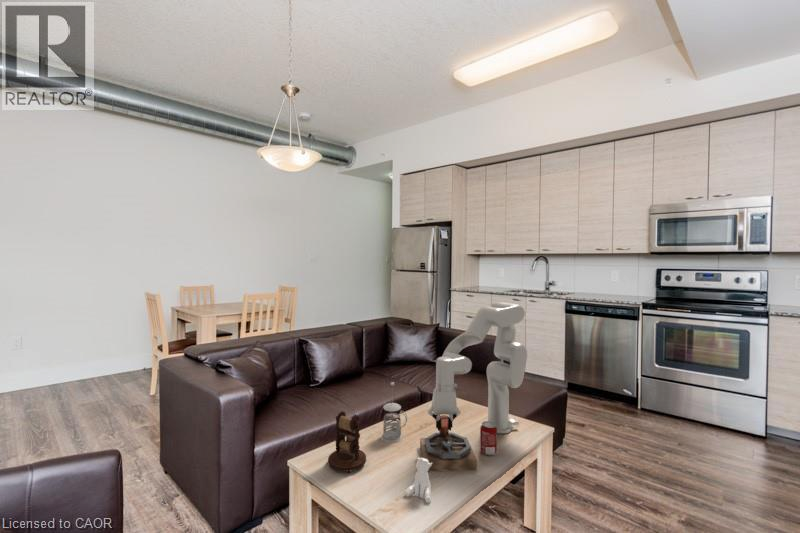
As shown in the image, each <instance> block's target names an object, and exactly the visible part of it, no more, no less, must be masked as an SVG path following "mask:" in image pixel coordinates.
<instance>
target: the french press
mask: <svg viewBox="0 0 800 533" xmlns="http://www.w3.org/2000/svg"><path fill="white" fill-rule="evenodd" d="M390 386H391V387H392V388H391V397H392V398H391V402H388V403H386V404H384V405H383V410H384V411H386V412H387V413H385V414H384V416H383V424H382V425H383V428H382V430H383V434H382V435H381V436H380V438H382V439H383V440H384V441H383V440H382V439H381V440H382V441H383V442H385V441H386V443H391V442H394V443H398V442H400V440H401V439H402V436H403V435H402V428H403V429H404V427H405V426H406V425H407V422H408V416H407V413H406V412H405V411H404V410H401V409H402V406H401V404H398V403H397V402H393V396H394V393H393V392H394V391H393V390H394V389H393V388H394V387H393V386H395V382H393V381H391V382H390ZM398 411H399V413H396V412H398ZM401 413H402V415H404V417H405V423H404V424H402V425H401ZM402 440H403V439H402ZM402 440H401V441H402Z"/></svg>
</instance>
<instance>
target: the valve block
mask: <svg viewBox="0 0 800 533" xmlns="http://www.w3.org/2000/svg"><path fill="white" fill-rule="evenodd" d="M464 437H465V438H467V440H468V437H466V436H464ZM425 438H426V437H420V439H419V440H420V441H419V442H420V443H419V447H420V452H421V458H424V459H427V460H428V461H429V463H432V465H431V467H429V470H428V471H427V472H455V471H457V472H459V471H461V472H462V471H478V458H477V456H476V455H475V454H476V453H475V452H474V450H473V448H472V447H471V451H470V452H469V453H467V454H466V455H465V456H463V457H462V458H445V459H442V458H440V457H437V456H435V455H433V454H431V453H428V452H427V451H426V446H425ZM447 439H448V440H451V441H452V443H463V442H460V441H458V440H455V439H453V438H447ZM443 440H444V439H443V438H437V439H435V440H433V441H432V442H430V443H442V441H443ZM468 442H469V440H468ZM469 444H470V442H469ZM470 445H471V444H470ZM432 448H434V449H437V450H439V451H441V452H448V451H447V450H444V449H443V448H442V447H432ZM463 448H465V446H463V447H452V449H451V451H452V452H459V451H460V450H462V449H463Z"/></svg>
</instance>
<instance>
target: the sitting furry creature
mask: <svg viewBox="0 0 800 533" xmlns="http://www.w3.org/2000/svg"><path fill="white" fill-rule="evenodd" d="M415 465H416V470H417V471H416V472H415V475H414V481H413V482H414V483H413V484H411V485H410V486H407V488H406V489H405V490H404V491H403V493H404V496H405V497H407V498H409V497H411V496H412V497H419V498H421V499H424V501H425V503H426V504H430V502H431V500H432V490H431V489H432V484H431V481H430V477H429V471H428V470H429V467H431V465H432V463H429V461H428V460H427V459H424V458H422V457H417V462H416V464H415Z"/></svg>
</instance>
